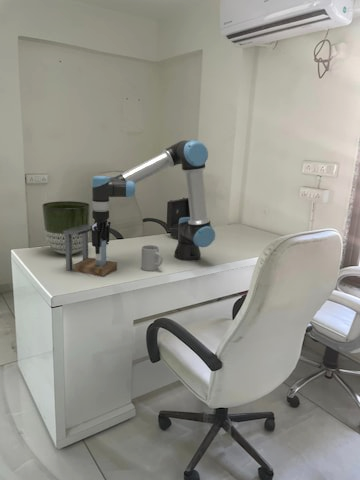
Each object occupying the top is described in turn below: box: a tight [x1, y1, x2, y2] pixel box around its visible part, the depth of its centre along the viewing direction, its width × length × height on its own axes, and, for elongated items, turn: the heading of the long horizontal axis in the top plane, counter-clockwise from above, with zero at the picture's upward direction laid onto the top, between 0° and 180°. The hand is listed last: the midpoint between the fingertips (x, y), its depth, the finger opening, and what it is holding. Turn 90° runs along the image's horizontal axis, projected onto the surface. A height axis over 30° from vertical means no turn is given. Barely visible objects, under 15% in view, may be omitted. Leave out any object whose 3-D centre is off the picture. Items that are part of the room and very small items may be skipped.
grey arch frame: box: [63, 224, 93, 272], centre depth 177 cm, size 8×16×20 cm, turn 159°
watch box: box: [166, 197, 217, 238], centre depth 255 cm, size 26×28×24 cm
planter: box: [41, 200, 91, 255], centre depth 200 cm, size 24×24×27 cm
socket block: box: [73, 257, 118, 278], centre depth 177 cm, size 16×12×4 cm
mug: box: [140, 244, 163, 272], centre depth 182 cm, size 12×8×11 cm
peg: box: [96, 240, 107, 266], centre depth 174 cm, size 4×4×12 cm
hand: (101, 258), depth 174 cm, fingers closed on peg, 3 cm apart
